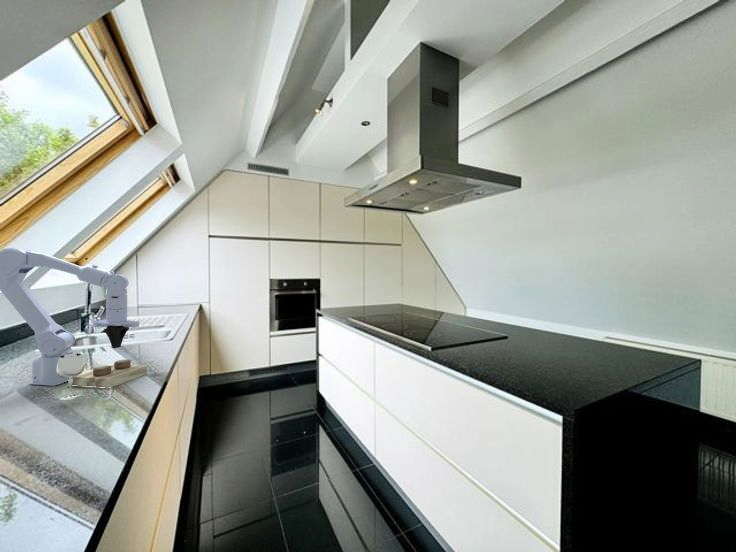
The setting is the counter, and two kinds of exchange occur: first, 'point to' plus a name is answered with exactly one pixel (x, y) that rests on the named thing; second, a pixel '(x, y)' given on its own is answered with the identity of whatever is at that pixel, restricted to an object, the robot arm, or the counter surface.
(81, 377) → the knob panel
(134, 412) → the counter surface
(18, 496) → the counter surface
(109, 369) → the knob
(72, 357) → the wineglass
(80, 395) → the counter surface
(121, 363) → the knob
